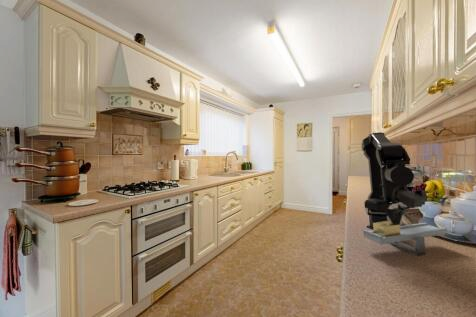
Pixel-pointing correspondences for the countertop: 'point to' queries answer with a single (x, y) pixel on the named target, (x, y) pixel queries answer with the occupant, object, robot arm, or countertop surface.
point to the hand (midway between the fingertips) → (396, 227)
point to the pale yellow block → (386, 228)
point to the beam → (407, 233)
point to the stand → (417, 250)
